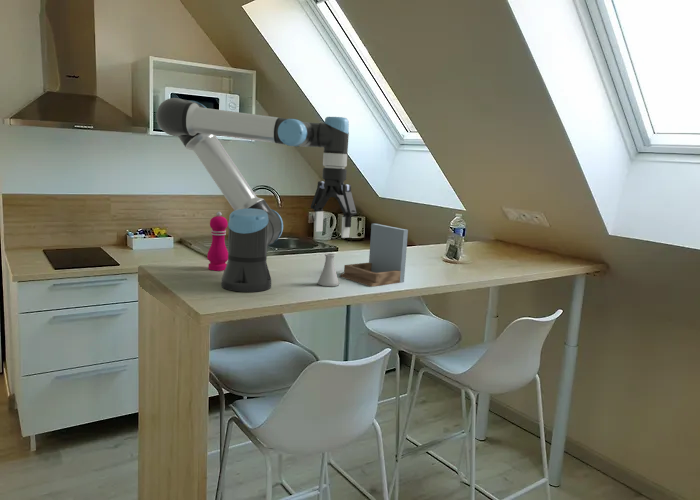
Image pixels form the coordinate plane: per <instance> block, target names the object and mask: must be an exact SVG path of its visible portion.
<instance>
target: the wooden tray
mask: <svg viewBox="0 0 700 500" xmlns="http://www.w3.org/2000/svg"><path fill="white" fill-rule="evenodd" d="M371 267H372V263H369V262H362V263H361V262H360V263H351V264H344V267H343V273H340V278H344V279H346V280H349V281H353V282H354V283H355V282H356V283H359V284H362V285H366V286H368V287H371V288H372V287H377V286H379V287H380V286H386V285H393V284H400V274H401V271H398V270H396V271H388V272H380V273H375V272H371Z"/></svg>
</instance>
